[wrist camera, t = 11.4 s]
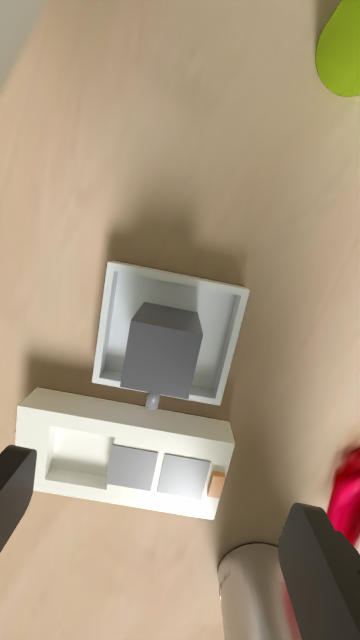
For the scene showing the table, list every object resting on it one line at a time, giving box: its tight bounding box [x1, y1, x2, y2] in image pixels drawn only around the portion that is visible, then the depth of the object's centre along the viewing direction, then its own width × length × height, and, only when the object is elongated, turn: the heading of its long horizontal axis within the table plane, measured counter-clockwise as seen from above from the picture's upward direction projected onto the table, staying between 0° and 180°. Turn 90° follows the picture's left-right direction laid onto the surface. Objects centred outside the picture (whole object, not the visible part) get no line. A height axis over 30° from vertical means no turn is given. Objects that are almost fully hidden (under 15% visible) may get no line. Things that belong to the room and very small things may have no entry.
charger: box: [120, 302, 203, 410], centre depth 23 cm, size 5×7×7 cm
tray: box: [92, 261, 250, 406], centre depth 26 cm, size 12×11×2 cm
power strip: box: [15, 387, 235, 520], centre depth 28 cm, size 20×9×4 cm, turn 79°
